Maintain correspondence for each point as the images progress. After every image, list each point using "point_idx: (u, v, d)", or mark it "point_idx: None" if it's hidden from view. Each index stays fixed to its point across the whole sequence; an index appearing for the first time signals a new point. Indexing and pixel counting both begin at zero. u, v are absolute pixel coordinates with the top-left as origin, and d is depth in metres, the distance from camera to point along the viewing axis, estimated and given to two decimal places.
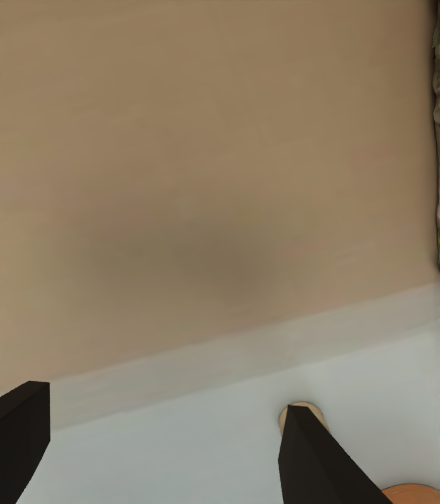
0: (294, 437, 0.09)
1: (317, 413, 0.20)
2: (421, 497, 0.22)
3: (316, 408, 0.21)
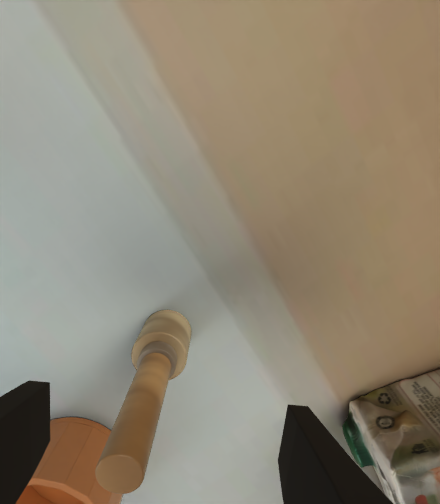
0: (294, 437, 0.09)
1: None
2: None
3: None
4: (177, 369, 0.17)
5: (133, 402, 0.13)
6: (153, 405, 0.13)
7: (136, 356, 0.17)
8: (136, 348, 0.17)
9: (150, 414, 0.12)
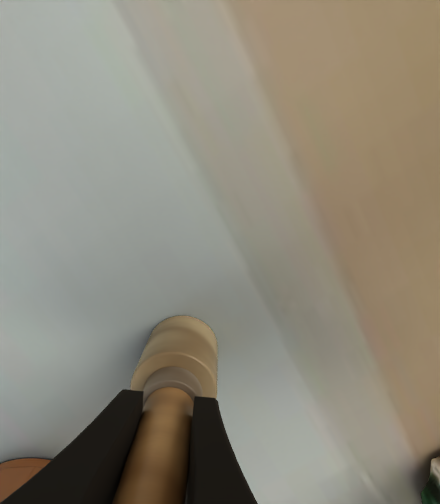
0: (191, 428, 0.09)
1: None
2: None
3: None
4: None
5: (135, 503, 0.06)
6: None
7: (138, 387, 0.11)
8: (139, 375, 0.11)
9: None
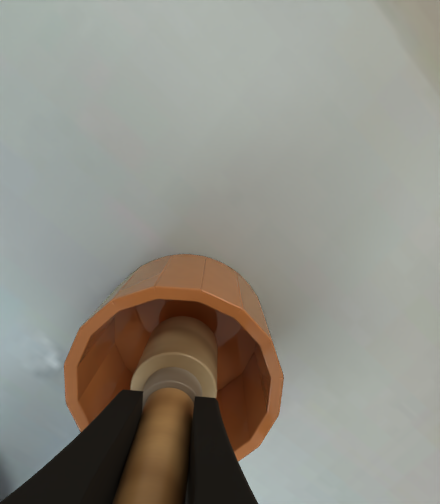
0: (191, 428, 0.09)
1: None
2: None
3: None
4: None
5: (136, 503, 0.06)
6: None
7: (138, 388, 0.11)
8: (139, 376, 0.11)
9: None
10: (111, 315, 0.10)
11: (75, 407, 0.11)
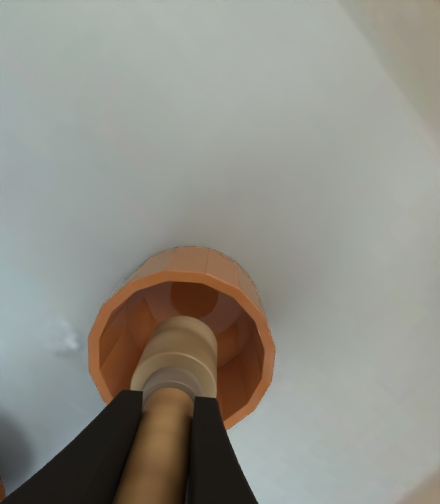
0: (192, 428, 0.09)
1: None
2: None
3: None
4: None
5: (136, 502, 0.06)
6: None
7: (138, 388, 0.11)
8: (139, 375, 0.11)
9: None
10: (129, 295, 0.12)
11: (97, 374, 0.13)
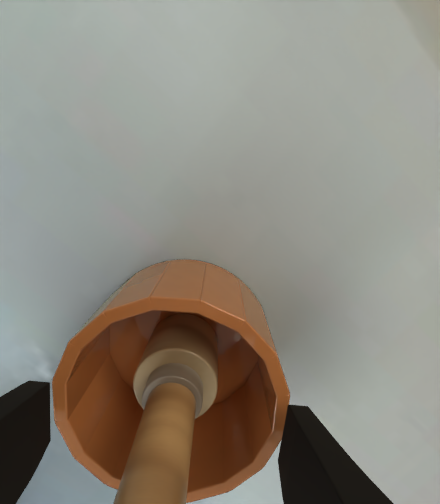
0: (294, 437, 0.09)
1: None
2: None
3: None
4: (201, 406, 0.11)
5: (140, 491, 0.07)
6: (176, 496, 0.07)
7: (140, 383, 0.11)
8: (141, 371, 0.11)
9: None
10: (103, 328, 0.10)
11: (64, 426, 0.10)
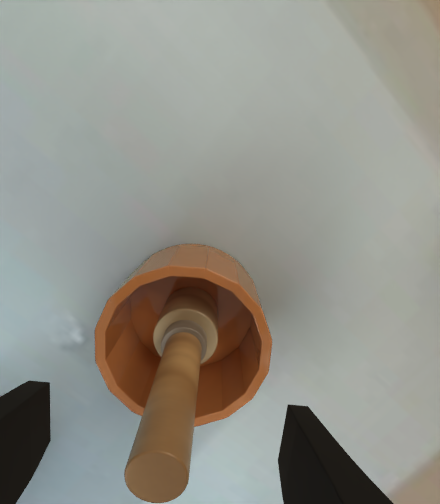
0: (294, 437, 0.09)
1: None
2: None
3: None
4: (205, 354, 0.15)
5: (167, 386, 0.10)
6: (190, 392, 0.10)
7: (159, 336, 0.15)
8: (160, 326, 0.15)
9: (189, 402, 0.10)
10: (133, 289, 0.13)
11: (103, 365, 0.14)
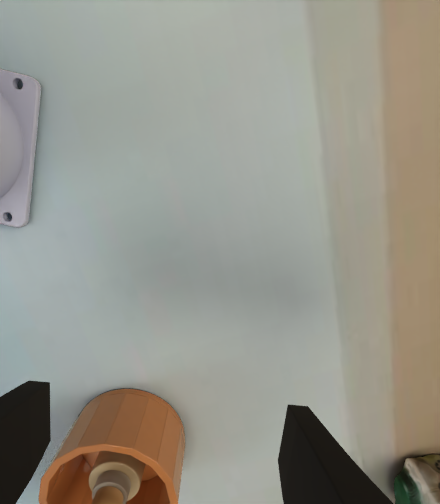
0: (294, 437, 0.09)
1: None
2: None
3: None
4: None
5: None
6: None
7: (96, 473, 0.19)
8: (101, 467, 0.18)
9: None
10: (99, 451, 0.17)
11: (45, 483, 0.17)
